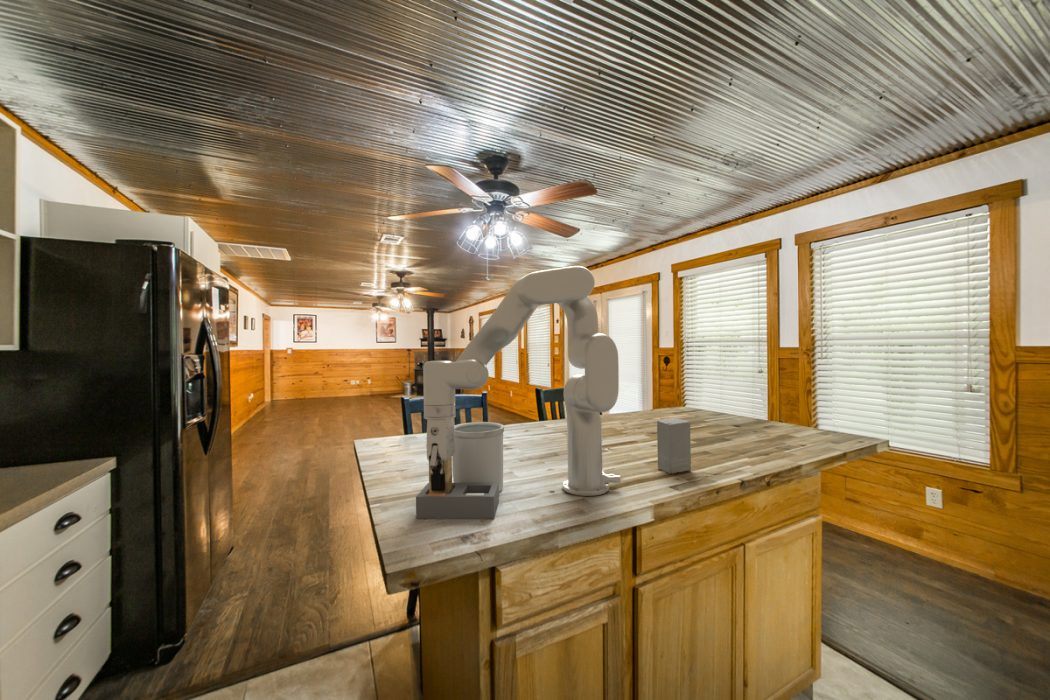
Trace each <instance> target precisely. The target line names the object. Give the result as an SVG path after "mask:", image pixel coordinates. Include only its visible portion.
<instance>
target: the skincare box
mask: <svg viewBox="0 0 1050 700" xmlns="http://www.w3.org/2000/svg"><path fill="white" fill-rule="evenodd" d="M656 438H657V441H656V442H657V444H656V445H657V468H658V469H659V470H661V471H663V472H665V471H666V472H665V473H667V472H668V473H667V474H670V473H672V474H675V473H677V472H678V473H684V472H688V471H689V472H690V471H691V470H692V461H691V460H692V457H691V454H692V452H691V451H692V450H691V449H692V447H691V446H692V445H691V443H692V442H691V421H689V420H684V419H681V418H669V419H663V420H662V419H661V420H656Z"/></svg>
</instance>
